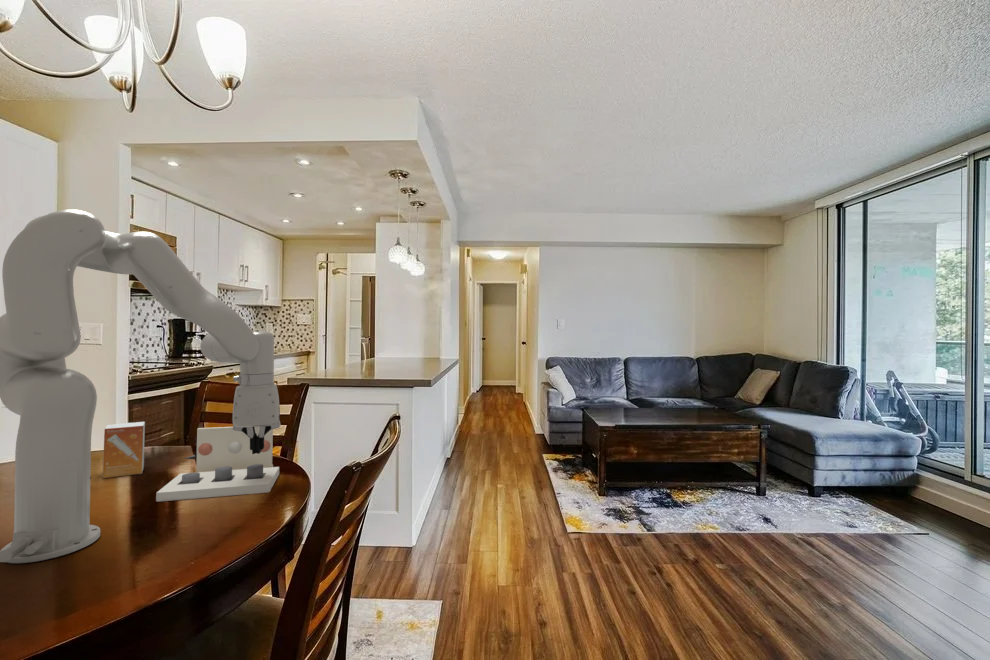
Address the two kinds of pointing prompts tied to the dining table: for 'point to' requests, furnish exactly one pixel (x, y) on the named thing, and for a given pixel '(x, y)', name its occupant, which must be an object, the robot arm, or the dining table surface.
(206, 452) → the pattern card
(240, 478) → the button board
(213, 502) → the dining table surface
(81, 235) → the robot arm
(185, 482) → the button
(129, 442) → the small box
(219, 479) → the button
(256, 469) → the button
